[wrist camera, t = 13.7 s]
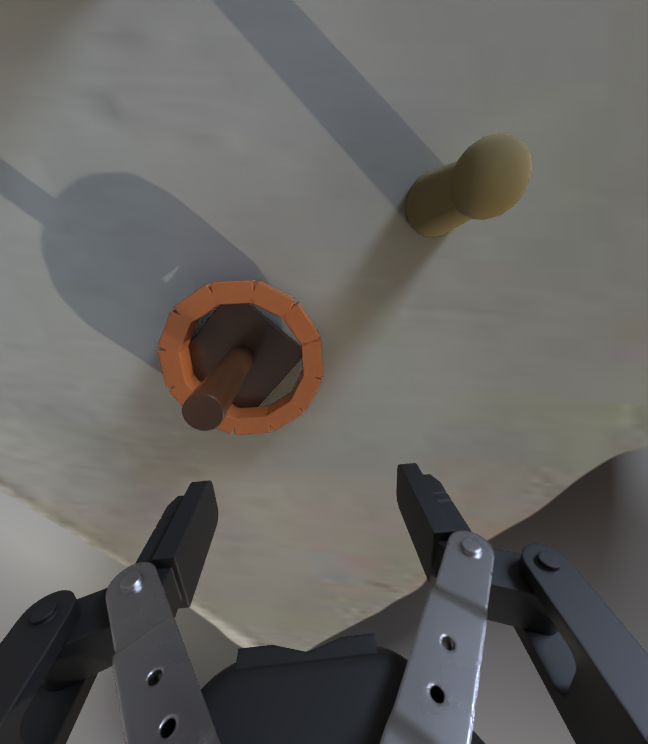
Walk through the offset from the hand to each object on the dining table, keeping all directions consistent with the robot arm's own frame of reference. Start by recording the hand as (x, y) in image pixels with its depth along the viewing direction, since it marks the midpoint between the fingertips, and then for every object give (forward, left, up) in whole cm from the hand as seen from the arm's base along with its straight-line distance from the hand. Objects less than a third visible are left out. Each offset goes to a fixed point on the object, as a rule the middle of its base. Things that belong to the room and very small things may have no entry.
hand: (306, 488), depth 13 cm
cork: (0, +20, -23) cm, 30 cm away
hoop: (-4, -4, -21) cm, 22 cm away
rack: (-5, -5, -23) cm, 24 cm away
